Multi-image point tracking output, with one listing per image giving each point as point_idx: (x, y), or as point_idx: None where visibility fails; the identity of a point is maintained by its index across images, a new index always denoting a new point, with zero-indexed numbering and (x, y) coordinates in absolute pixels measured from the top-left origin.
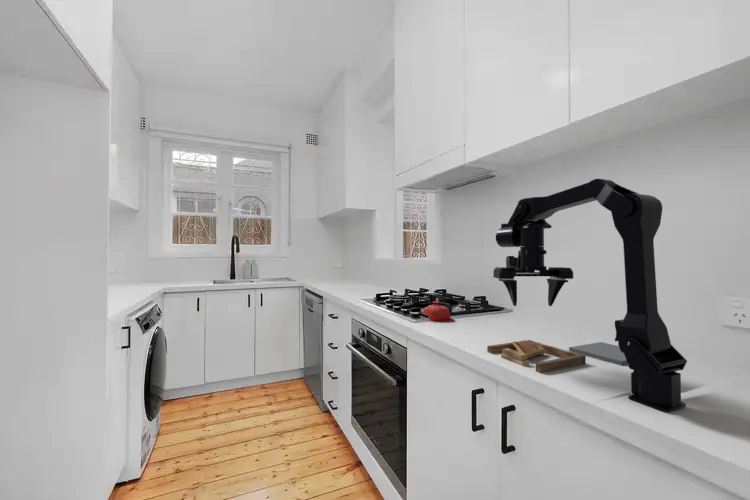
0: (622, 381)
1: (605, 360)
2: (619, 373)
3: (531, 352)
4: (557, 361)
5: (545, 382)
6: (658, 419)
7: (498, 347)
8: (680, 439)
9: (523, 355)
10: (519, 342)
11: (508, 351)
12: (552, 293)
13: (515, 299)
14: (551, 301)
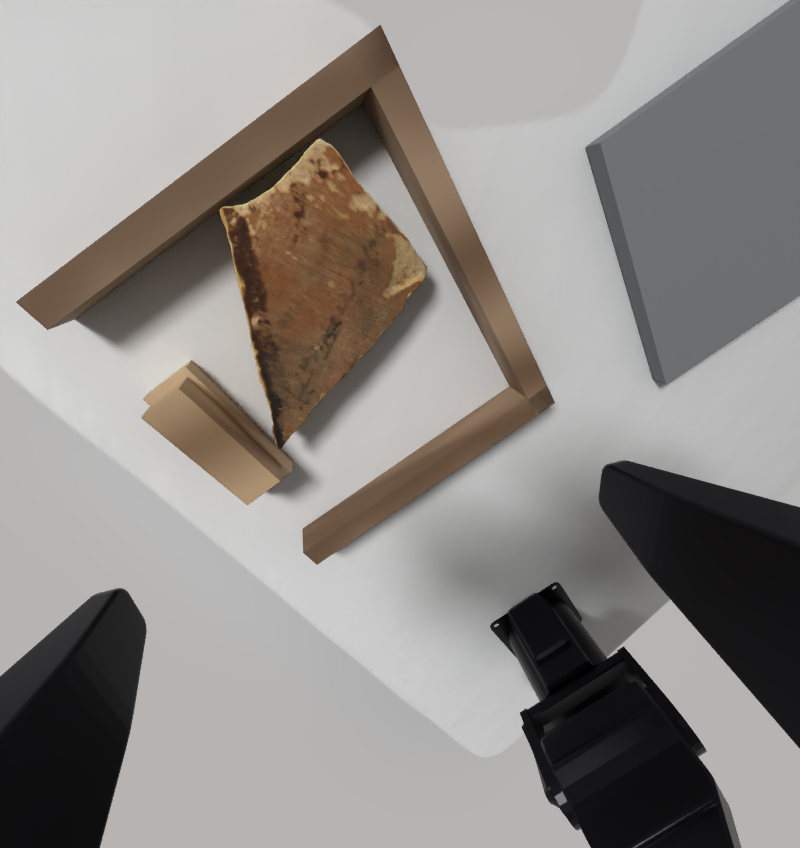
0: (543, 536)
1: (639, 329)
2: (583, 469)
3: (320, 393)
4: (401, 506)
5: (312, 610)
6: (476, 698)
7: (112, 284)
8: (462, 741)
9: (261, 492)
10: (270, 231)
11: (181, 448)
12: (764, 677)
13: (93, 778)
14: (644, 563)
